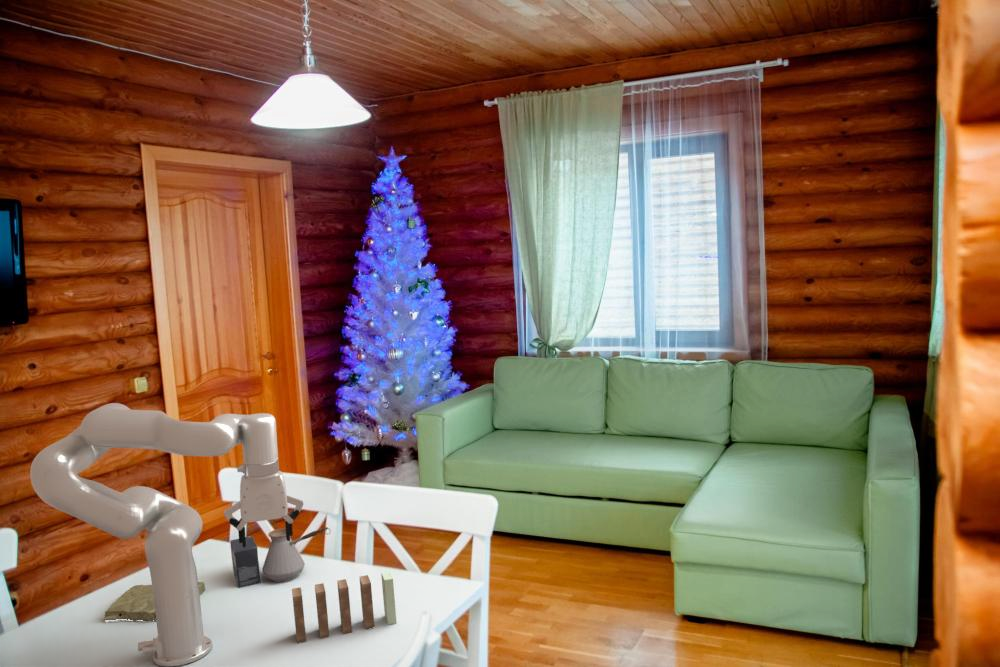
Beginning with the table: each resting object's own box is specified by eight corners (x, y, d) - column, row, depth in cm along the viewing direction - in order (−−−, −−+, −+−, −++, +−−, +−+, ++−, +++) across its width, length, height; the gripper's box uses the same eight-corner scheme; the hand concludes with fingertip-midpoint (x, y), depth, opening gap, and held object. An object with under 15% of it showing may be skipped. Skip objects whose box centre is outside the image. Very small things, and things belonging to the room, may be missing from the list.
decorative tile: (133, 595, 218) (131, 583, 218) (206, 591, 218) (205, 578, 217) (99, 627, 199) (97, 613, 199) (179, 622, 199) (177, 608, 199)
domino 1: (297, 643, 183) (293, 597, 182) (296, 633, 188) (291, 588, 187) (306, 641, 184) (301, 595, 182) (304, 632, 188) (300, 587, 187)
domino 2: (320, 638, 185) (316, 592, 183) (318, 629, 189) (314, 584, 188) (329, 636, 185) (325, 591, 184) (327, 627, 190) (323, 583, 189)
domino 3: (343, 634, 186) (339, 588, 185) (341, 624, 191) (337, 580, 190) (352, 632, 187) (348, 587, 186) (349, 623, 191) (345, 579, 190)
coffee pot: (254, 583, 219) (249, 530, 218) (278, 567, 230) (273, 516, 229) (322, 589, 213) (317, 534, 211) (344, 572, 223) (339, 520, 222)
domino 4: (366, 629, 188) (362, 584, 187) (363, 620, 192) (359, 576, 191) (374, 627, 188) (370, 582, 187) (371, 618, 193) (367, 575, 192)
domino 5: (388, 624, 189) (384, 580, 188) (384, 616, 194) (381, 572, 193) (396, 623, 190) (392, 578, 189) (393, 614, 195) (389, 571, 193)
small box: (232, 575, 226) (228, 539, 225) (256, 570, 229) (252, 535, 228) (237, 588, 217) (233, 551, 216) (261, 583, 220) (258, 546, 218)
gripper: (220, 477, 174) (226, 553, 175) (302, 468, 179) (306, 542, 181) (221, 469, 181) (226, 542, 183) (299, 460, 186) (303, 531, 188)
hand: (266, 542), depth 182 cm, fingers open, 9 cm apart
